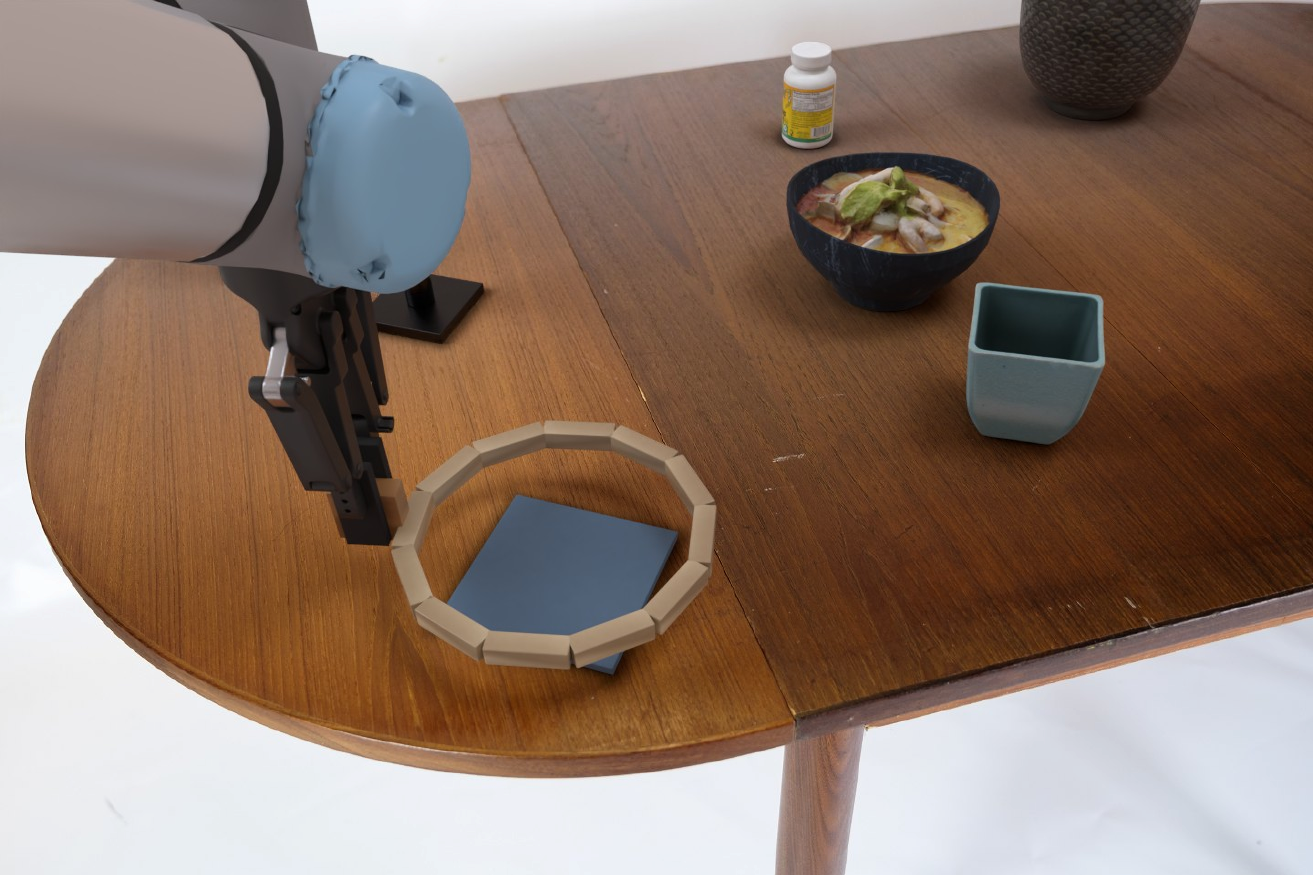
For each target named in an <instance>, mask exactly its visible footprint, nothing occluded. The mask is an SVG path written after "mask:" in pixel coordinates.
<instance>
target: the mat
mask: <svg viewBox="0 0 1313 875" xmlns="http://www.w3.org/2000/svg"><path fill="white" fill-rule="evenodd" d="M678 534H679V532H678V531H676V530H672V529H668V528H663V527H659V526H655V525H650V524H646V523H642V522H637V521H633V520H629V519H626V518H625V519H624V518H621V517H615V516H612V515H607V514H603V513H599V512H595V511H590V510H587V509H582V508H577V507H572V506H568V505H565V504H559V503H555V502H551V501H547V500H543V499H538V498H534V497H530V496H526V495H521V494H516V495H515V496H514V497H513V499H512V500H511V503H510V504H509V505H508V507H507V508H506V510H505V512H504V513H503V515H502V517H501V518H500V520H499V521H498V522H497V523H496V526H495V527H494V528H493V530H492V532H491V533H490V535H489V537H488V538H487V540H486V541H485V543H484V545H483V546H482V548H481V549H480V551H479V552H478V554H477V555H476V557H475V559H474V560H473V561H472V563H471V565H470V566H469V568H468V569H467V571H466V572H465V574H464V576H463V577H462V579H461V580H460V581H459V584H458V585H457V587H456V588H455V590H454V591H453V593H452V595H451V596H450V597H449V599H448V601H447V602H446V604H447V605H449V606H450V607H452V608H454V609H455V610H457V611H459V612H460V613H462V614H464V615H465V616H467V617H468V618H470V619H472V620H473V621H475V622H477V623H478V624H480V625H482V626H483V627H485V628H487V629H488V630H490V631H502V632H518V633H534V634H550V635H566V636H569V635H572V634H575V633H578V632H580V631H583V630H586V629H589V628H591V627H594V626H597V625H599V624H602V623H605V622H608V621H610V620H613V619H616V618H619V617H621V616H624V615H627V614H629V613H632V612H635V611H638V610H640V609H643V608H644V607H645V606H646V605H647V604H648V603H649V599H650V597H651V595H652V593H653V591H654V589H655V587H656V584H657V582H658V580H659V578H660V576H661V573H662V572H663V570H664V568H665V565H666V563H667V562H668V560H669V557H670V555H671V552H672V551H673V548H674V546H675V545H676V542H677V541H678V537H679V535H678ZM624 652H625V651H623V652H620V653H617V654H615V655H612V656H609V657H607V658H604V659H601V660H599V661H596V662H593V663H591V664H588V665H585V666H583V667H582V668H587V669H590V670H594V671H597V672H601V673H605V674H608V675H611V676H612V675H614V673H615V672H616V669H617V668H618V665H619V663H620V661H621V659H622V657H623V654H624ZM571 665H575V664H574V662H573V660H572V661H571Z"/></svg>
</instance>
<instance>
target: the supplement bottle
mask: <svg viewBox="0 0 1313 875" xmlns="http://www.w3.org/2000/svg"><path fill="white" fill-rule="evenodd" d="M832 51H833V50H832V48H831V46H829V45H828V44H826V43H823V42H819V41H803V42H799V43H796V44H794V45H793V46H792V47H791V52H790V62H791V65H790V66H789V67H787V68H786V70H785V72H784V74H783V85H782V86H783V87H782V88H783V90H782V115H781V137H782V139H783V140H784V141H785V143H787V144H788V145H789V146H792V147H794V148H798V149H804V150H805V149H807V150H810V149H817V148H821V147H824V146H826V145H828V144H829V143H830V142H831V140H832V139H833V134H834V121H835V120H834V119H835V108H836V106H835V105H836V92H837V73H836V71H835V69H834V68H833V67H832V66H831V65H830V64H831V63H832Z"/></svg>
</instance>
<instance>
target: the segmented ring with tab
mask: <svg viewBox="0 0 1313 875" xmlns="http://www.w3.org/2000/svg"><path fill="white" fill-rule="evenodd" d="M543 424H544V425H542V423H541V421H539V420H538V421H536V422H532V423H530V424H526V425H523V426H520V427H516V428H513V429H509V430H506V431H503V432H499V433H497V434H493V435H490V436H486V437H483V438H481V439H478V440H473V441H472V442H471V444H472V445H468V444H465V446H463V447H461V449H459V450H458V451H457V452H456V453H454V454H453V455H452V456H451V457H449V458H448V459H447V460H446V461H445V462H443V463H442V464H441V465H439V466H438V467H437V468H436V469H434V470H433V471H432V472H431V473H430V474H428V475H427V476H426V477H425V478H424V479H422V480H421V481H419V483H416V485H415V490H412V491H411V493H410V495H409V498H407V494H406V491H405V487H404V483H403V479H402V478H393V479H390V478H375V479H376V483H377V486H378V490H379V493H380V498H381V501H382V505H383V508H384V512H385V515H386V519H387V522H388V526H389V529H390V533H391V536H392V539H391V541H392V542H391V543H390V544H391V550H390V553H391V556H392V561H393V563H394V567H395V570H396V573H397V575H398V578H399V581H400V583H401V587H402V589H403V592H404V595H405V598H406V600H407V603H408V605H409V606H408V607H409V608H410V612H411V614H412V617H413V619H414V620H415V621H417V624H418V626H420V627H422V628H423V629H424V630H426V631H427V632H429V633H431V634H432V635H434V636H436V637H438V638H439V639H441V640H442V641H444V642H445V643H447V644H448V645H450V646H452V647H453V648H455V649H457V650H458V651H460V652H461V653H463V654H465V655H466V656H468V657H470V658H471V659H472V660H474V661H476V662H478V663H481V661H482V660H483V659H484V664H485V665H491V666H503V667H504V666H506V667H519V668H520V667H523V668H535V669H536V668H537V669H551V670H553V669H554V670H566V671H567V670H570V669H571V666H572V663H571V661H572V660H573V662H574V664H573V665H574V666H575V668H576V669H580V668H584V667H583V666H585V665H588V664H591V663H593V662H596V661H599V660H601V659H604V658H607V657H609V656H612V655H615V654H617V653H620V652H623V651H624V652H626V651H627V650H630V649H633V648H635V647H636V648H637V647H638V646H641V645H644V644H646V643H650V642H651V641H655V640H656V633H657V634H658V635H660V636H662V635H663V634H664V633H665V632H666V631H667V630H668V628H669V627H670V626H671V625H672V624H673V623H674V622H675V621H676V619H677V618H679V617H680V615H681V614H682V613H683V612H684V611H685V609H687V607H688V606H689V605H690V604H691V603H692V602H693V601H694V600H695V599H696V598H697V597H698V595H699V594H700V593H701V592H702V590H703V589H704V588H705V587H706V586H707V585H708V584H709V579H711V578H712V574H713V573H712V572H713V563H714V552H715V540H716V531H717V523H718V522H717V521H718V520H717V518H718V514H717V512H718V510H717V508H718V507H717V505H716V500H715V499H714V497H713V495H712V494H711V493H710V491H709V490H708V488H707V487H706V485H705V484H704V483H703V481H702V480H701V478H700V477H699V475H698V474H697V472H696V471H695V470H694V468H693V467H692V465H691V464H690V462H689V461H688V459H687V458H686V456H685V455H684V454H680V453H679V451H678V450H677V449H675V448H673V447H670V446H669V445H666V444H664V443H662V442H660V441H657V440H656V439H653V438H651V437H648V436H646V435H644V434H642V433H641V432H638V431H635V430H633V429H631V428H629V427H627V426H625V425H623V424H620V425H619V426H618V427H617V425H616V423H615V422H600V421H599V422H596V421H595V422H594V421H572V420H571V421H570V420H550V419H549V420H547V419H546V420H544V423H543ZM546 449H551V450H574V451H596V452H597V451H598V452H613V453H615V454H617V455H620V456H621V457H623V458H625V459H627V460H630V461H632V462H634V463H636V464H638V465H641V466H643V467H645V468H647V469H649V470H651V471H653V472H655V473H658V474H660V475H661V476H664V477H665V479H667V481H668V482H669V484H670V486H671V488H672V489H673V490H674V492H675V493H676V495H677V496H678V498H679V499H680V501H681V502H682V504H683V505H684V507H685V509H686V510H687V511H688V513H689V514H690V516H691V517H692V523H691V530H690V539H689V546H688V547H689V548H688V557H687V558H688V559H687V561H686V562H684V564H683V565H682V566H681V567H679V569H678V570H677V571H676V572H675V574H673V576H672V577H671V578H670V579H668V581H667V582H666V583H665V584H664V585H663V586H662V587H661V588H660V589H659V591H658V592H656V593H655V595H654V596H653V597H652V598H651V599H650V600H649V601H648V602H647V604H646V606H645V607H644V608H643V609H640V610H638V611H635V612H632V613H629V614H627V615H624V616H621V617H619V618H616V619H613V620H610V621H608V622H605V623H602V624H599V625H597V626H594V627H591V628H589V629H586V630H583V631H580V632H578V633H575V634H572V635H569V636H566V635H550V634H534V633H518V632H502V631H490V630H488V629H487V628H485V627H483V626H482V625H480V624H478V623H477V622H475V621H473V620H472V619H470V618H468V617H467V616H465V615H464V614H462V613H460V612H459V611H457V610H455V609H454V608H452V607H450V606H449V605H447V603H445V602H443V601H442V600H440V599H438V598H437V597H436V596H434V595H433V591H432V589H431V587H430V584H429V581H428V579H427V577H426V574H425V571H424V568H423V566H422V563H421V560H420V558H419V555H420V553H421V550H422V547H423V544H424V541H425V538H426V536H427V533H428V530H429V528H430V524H431V521H432V518H433V517H434V516H433V515H434V513H435V510H436V508H437V507H439V506H441V504H443V503H444V502H445V501H446V500H447V499H448V498H449V497H451V496H452V495H453V494H454V493H455V492H457V491H458V490H459V489H460V488H461V487H462V486H464V485H465V484H466V483H468V482H469V481H470V480H471V479H472V478H474V477H475V476H476V475H477V474H479V472H481V471H482V470H483V469H485V468H489V467H491V466H494V465H497V464H501V463H505V462H507V461H511V460H514V459H517V458H520V457H524V456H527V455H530V454H532V453H536V452H539V451H542V450H546ZM679 454H680V455H679ZM325 496H326V498H327V501H328V505H329V507H330V511H331V514H332V516H333V519H334V523H335V526H336V528H337V529H336V530H337V532H338V535H339V538H340V539H346V538H345V535H344V532H343V529H342V526H341V523H340V520H339V516H338V513H337V510H336V507H335V504H334V501H333V498H332V495H331V492H325ZM624 652H623V653H624Z"/></svg>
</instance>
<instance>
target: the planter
mask: <svg viewBox="0 0 1313 875" xmlns="http://www.w3.org/2000/svg"><path fill="white" fill-rule="evenodd" d="M1201 2H1202V0H1021V3H1020V12H1019V32H1018V37H1019V40H1018V42H1019V44H1018V45H1019V52H1020V58H1021V63H1022V67H1023V70H1024V73H1025V74H1026V76H1027V78H1028V79H1029V81H1030V82H1031V84H1032V85H1033V87H1035V88H1036V90H1037V91H1038V92H1040V93H1041V97H1042V100H1043V102H1044V103H1045V105H1046V106H1047V107H1048V108H1049V109H1051V110H1052V112H1055V113H1056V114H1059V115H1062V116H1065V117H1069V118H1073V119H1078V120H1087V121H1101V120H1110V119H1114V118H1118V117H1120V116H1122V115H1124V114H1125V113H1127V112H1128V111H1129V109H1131V108H1132V106H1133V105H1134V104H1135V103H1138V102H1140V101H1142V100H1143V99H1145V98H1146V97H1148V96H1149V95H1150V94H1152V93H1153V92H1154V91H1156V90H1157V89H1158V88H1159V87H1160V86H1161V85H1162V84H1163V83H1164V81H1166V79H1167V78H1168V77H1169V75H1170V74H1171V72H1172V71H1173V70H1174V68H1175V67H1176V64H1177V63H1178V60H1179V58H1180V57H1181V54H1182V53H1183V50H1184V47H1185V45H1186V42H1187V39H1188V38H1189V36H1190V32H1191V29H1192V27H1193V24H1194V22H1195V19H1196V15H1197V13H1198V10H1199V7H1200V4H1201Z"/></svg>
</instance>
